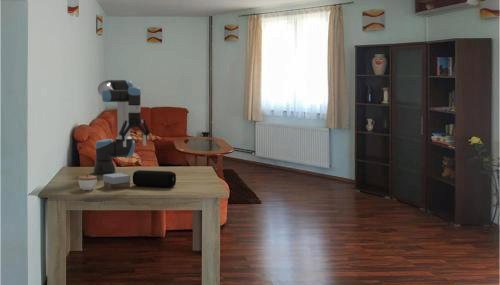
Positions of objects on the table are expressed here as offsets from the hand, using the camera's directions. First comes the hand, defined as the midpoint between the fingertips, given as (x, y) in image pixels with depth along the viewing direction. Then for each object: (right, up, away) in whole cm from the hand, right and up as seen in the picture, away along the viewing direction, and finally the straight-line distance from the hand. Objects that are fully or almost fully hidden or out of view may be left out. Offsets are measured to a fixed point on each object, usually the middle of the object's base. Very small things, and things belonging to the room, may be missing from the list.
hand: (134, 146), depth 363 cm
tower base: (-10, -26, -5) cm, 28 cm away
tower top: (-10, -22, -6) cm, 25 cm away
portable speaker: (+13, -26, -2) cm, 29 cm away
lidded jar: (-25, -26, -15) cm, 39 cm away
